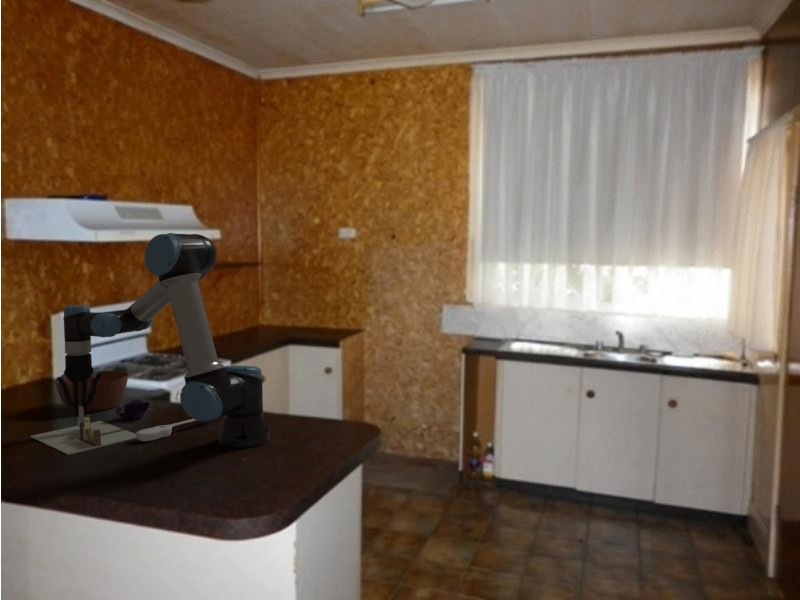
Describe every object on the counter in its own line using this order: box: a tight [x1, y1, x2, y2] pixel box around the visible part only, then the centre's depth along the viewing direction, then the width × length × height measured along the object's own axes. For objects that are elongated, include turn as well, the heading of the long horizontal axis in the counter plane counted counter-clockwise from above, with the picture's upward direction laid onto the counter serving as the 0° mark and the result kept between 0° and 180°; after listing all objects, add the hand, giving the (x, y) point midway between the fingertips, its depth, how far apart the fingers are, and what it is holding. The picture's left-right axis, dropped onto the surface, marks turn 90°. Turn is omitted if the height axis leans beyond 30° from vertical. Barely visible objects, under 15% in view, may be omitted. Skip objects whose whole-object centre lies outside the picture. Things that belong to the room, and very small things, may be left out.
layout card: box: [30, 420, 136, 456], centre depth 198 cm, size 28×22×1 cm
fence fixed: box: [80, 422, 101, 446], centre depth 191 cm, size 11×1×6 cm, turn 50°
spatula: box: [135, 418, 197, 442], centre depth 202 cm, size 28×6×3 cm, turn 145°
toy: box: [114, 397, 154, 420], centre depth 219 cm, size 11×12×7 cm
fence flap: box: [83, 414, 91, 428], centre depth 201 cm, size 11×1×4 cm, turn 20°
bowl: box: [54, 370, 129, 413], centre depth 236 cm, size 25×25×11 cm
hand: (80, 426), depth 202 cm, fingers closed
